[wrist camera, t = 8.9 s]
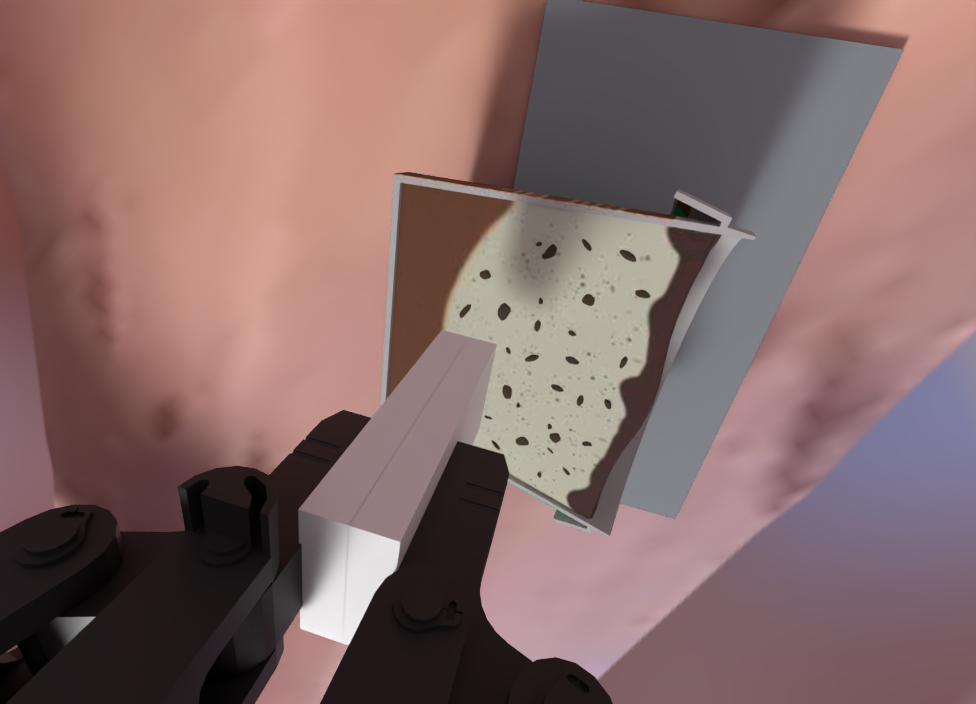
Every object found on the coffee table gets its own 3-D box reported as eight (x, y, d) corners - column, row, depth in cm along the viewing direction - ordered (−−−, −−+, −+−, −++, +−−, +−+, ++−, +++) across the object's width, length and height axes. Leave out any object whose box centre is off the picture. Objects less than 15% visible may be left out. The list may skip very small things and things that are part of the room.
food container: (447, 370, 25) (632, 447, 22) (378, 437, 20) (604, 546, 17) (486, 115, 18) (754, 179, 16) (396, 119, 13) (767, 214, 11)
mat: (465, 455, 25) (464, 459, 25) (548, -3, 16) (547, -5, 15) (674, 514, 24) (675, 519, 23) (898, 51, 14) (903, 49, 14)
